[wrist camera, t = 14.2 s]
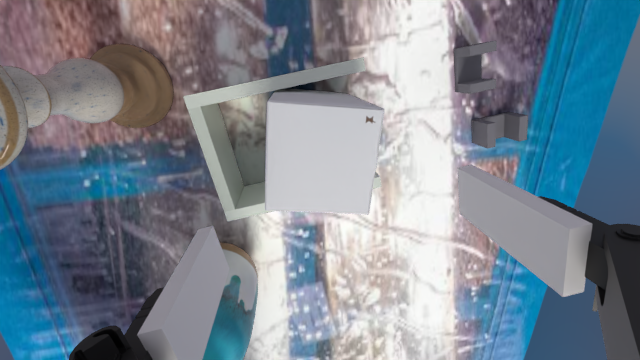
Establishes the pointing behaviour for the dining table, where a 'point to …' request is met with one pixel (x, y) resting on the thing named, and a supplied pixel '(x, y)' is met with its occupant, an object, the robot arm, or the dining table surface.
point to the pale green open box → (217, 143)
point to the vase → (234, 308)
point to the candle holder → (84, 94)
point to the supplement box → (320, 152)
